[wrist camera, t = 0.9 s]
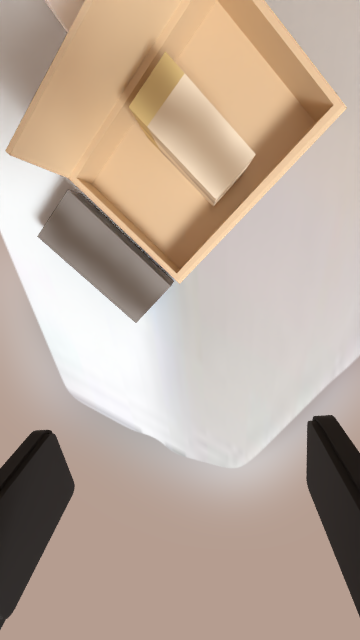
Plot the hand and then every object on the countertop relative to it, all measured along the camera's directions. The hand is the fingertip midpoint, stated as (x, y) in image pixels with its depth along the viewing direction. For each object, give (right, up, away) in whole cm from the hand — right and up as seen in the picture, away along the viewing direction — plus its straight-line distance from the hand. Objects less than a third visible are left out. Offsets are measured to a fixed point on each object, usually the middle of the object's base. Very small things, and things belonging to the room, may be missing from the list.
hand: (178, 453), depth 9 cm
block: (+2, +23, +18) cm, 29 cm away
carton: (+2, +23, +18) cm, 29 cm away
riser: (-8, +13, +23) cm, 27 cm away
